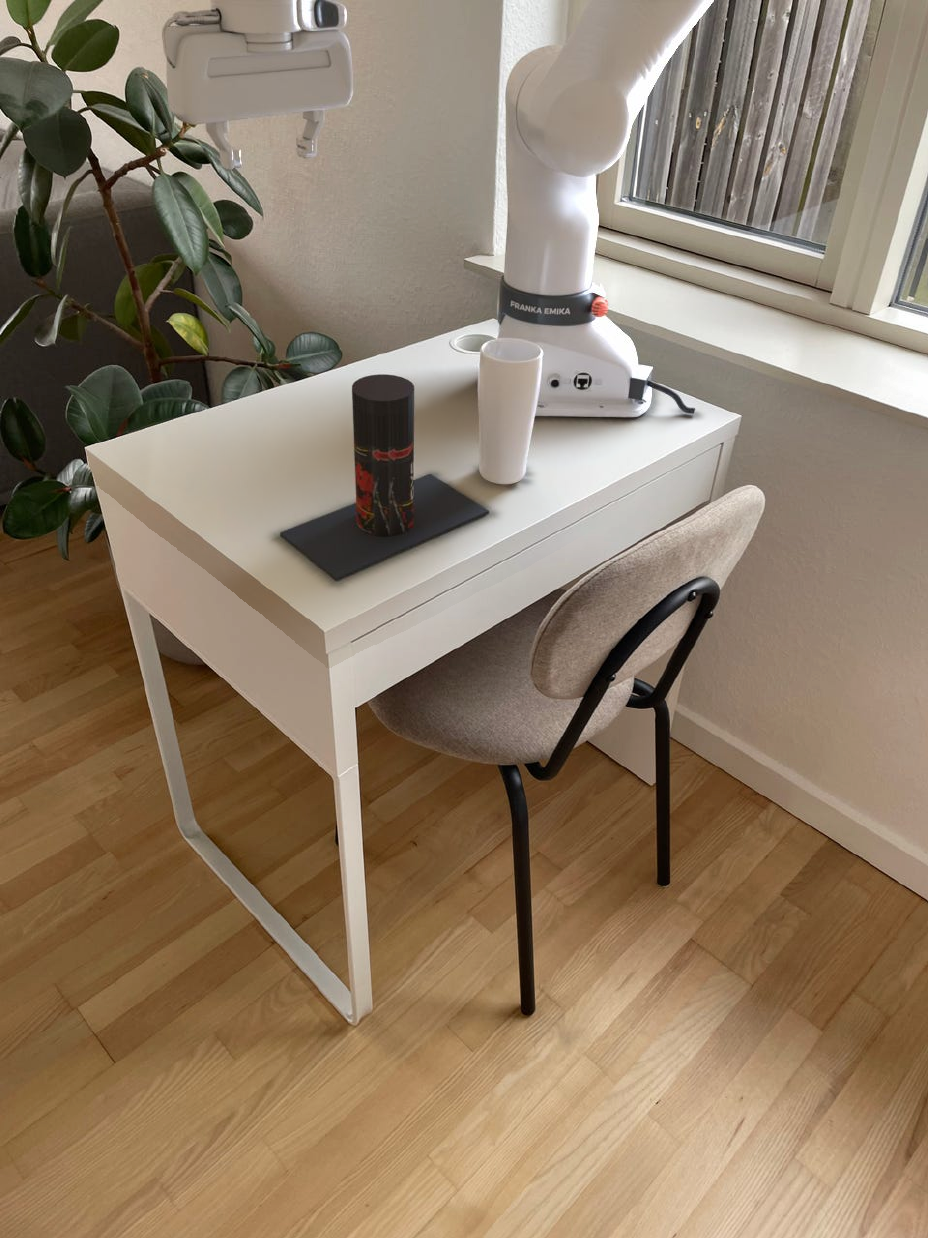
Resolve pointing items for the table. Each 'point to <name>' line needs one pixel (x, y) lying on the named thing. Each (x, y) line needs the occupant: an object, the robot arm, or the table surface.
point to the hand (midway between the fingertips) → (270, 161)
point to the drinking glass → (507, 406)
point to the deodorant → (384, 453)
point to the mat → (351, 549)
